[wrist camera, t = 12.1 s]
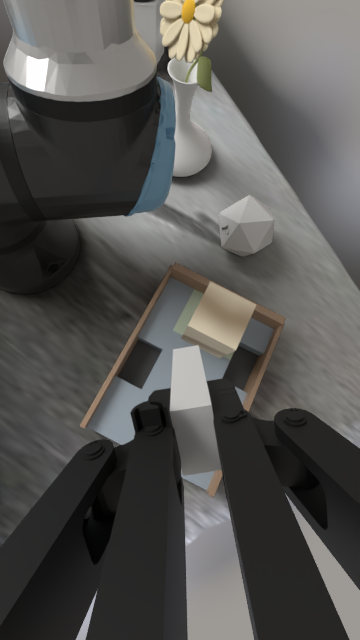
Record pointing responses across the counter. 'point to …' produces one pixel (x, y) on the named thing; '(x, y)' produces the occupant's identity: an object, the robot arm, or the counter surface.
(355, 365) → the counter surface
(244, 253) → the die
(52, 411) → the counter surface
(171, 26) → the flower in vase
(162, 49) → the jar
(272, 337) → the box
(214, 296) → the block
